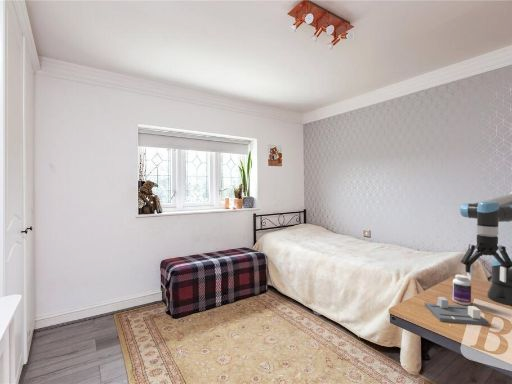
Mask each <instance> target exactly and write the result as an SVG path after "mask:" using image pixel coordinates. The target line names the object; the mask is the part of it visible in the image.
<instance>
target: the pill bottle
mask: <svg viewBox="0 0 512 384" xmlns="http://www.w3.org/2000/svg"><path fill="white" fill-rule="evenodd" d="M454 277H455V278H453V280H452V287H451V288H452V290H451V292H452V294H451V296H452V297H451V298H452V302H454V303H456V304H459V305H461V306H471V303H472V282H470V280H469V279H467V275H465V274H455V276H454Z"/></svg>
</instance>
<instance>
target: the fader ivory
mask: <svg viewBox="0 0 512 384" xmlns="http://www.w3.org/2000/svg"><path fill="white" fill-rule="evenodd" d="M467 306H468V315H470V316H471V317H472V318H476V319H480V316H481V313H482V312H481V309H479V308H478V307H477V306H475V305H467ZM481 317H482V316H481Z"/></svg>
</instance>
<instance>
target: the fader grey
mask: <svg viewBox="0 0 512 384" xmlns="http://www.w3.org/2000/svg"><path fill="white" fill-rule="evenodd" d="M437 304H438V305H439V306H440V307H441V308H448V305H449V299H447V298H446V297H445V296H437Z"/></svg>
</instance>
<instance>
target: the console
mask: <svg viewBox="0 0 512 384" xmlns="http://www.w3.org/2000/svg"><path fill="white" fill-rule="evenodd" d="M423 305H424V307H425V308H426V309H427V310H428V311H429V312H430V313H431V314H432V315H433V316H434V317H435V318H436V319H437V320H438V321H439V322H447V323H458V324H459V323H460V324H470V325H471V323H472V325H483V326H484V325H485V326H488V325H487V324H489V325H490V323H489V321H488V320H487V319H485V317H483V316H480V319H476V318H472V317H471V316H470V315H468V306H469V305H460V304H459V305H455V304H448V308H441V307H440V306H439V305H438V302H437V303H429V302H424V304H423Z"/></svg>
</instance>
